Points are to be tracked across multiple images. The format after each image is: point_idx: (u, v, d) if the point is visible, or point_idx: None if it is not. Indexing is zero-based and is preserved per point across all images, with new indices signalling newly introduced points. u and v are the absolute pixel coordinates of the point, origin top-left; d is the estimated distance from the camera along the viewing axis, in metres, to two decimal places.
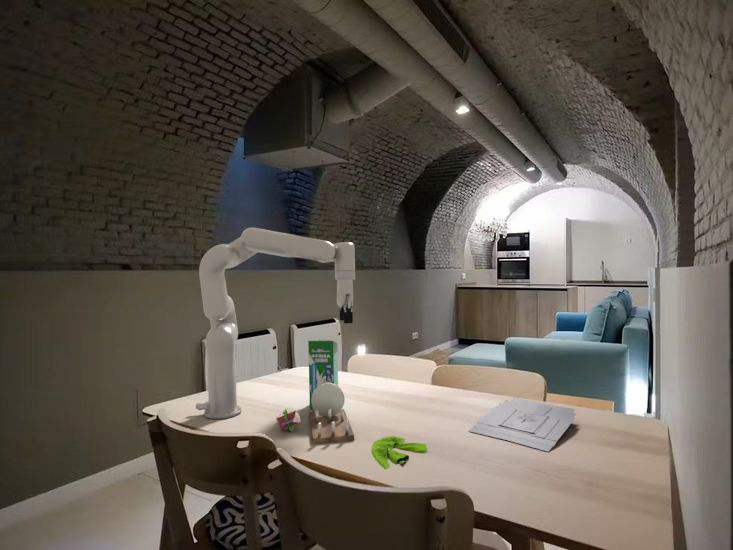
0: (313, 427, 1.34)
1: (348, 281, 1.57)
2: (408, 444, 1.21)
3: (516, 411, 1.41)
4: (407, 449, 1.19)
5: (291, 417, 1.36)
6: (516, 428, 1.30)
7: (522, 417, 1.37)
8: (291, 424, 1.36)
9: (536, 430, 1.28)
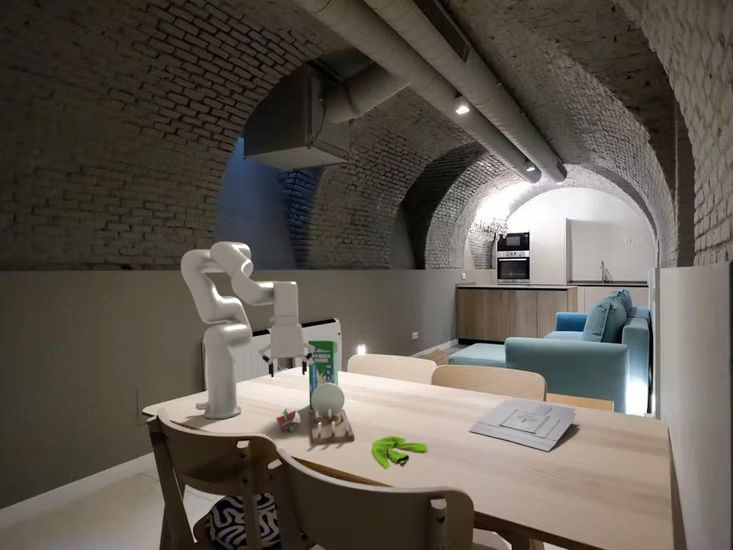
0: (313, 427, 1.34)
1: None
2: (408, 444, 1.21)
3: (516, 411, 1.42)
4: (407, 449, 1.19)
5: (291, 417, 1.36)
6: (516, 428, 1.30)
7: (522, 416, 1.37)
8: (291, 424, 1.36)
9: (536, 430, 1.28)
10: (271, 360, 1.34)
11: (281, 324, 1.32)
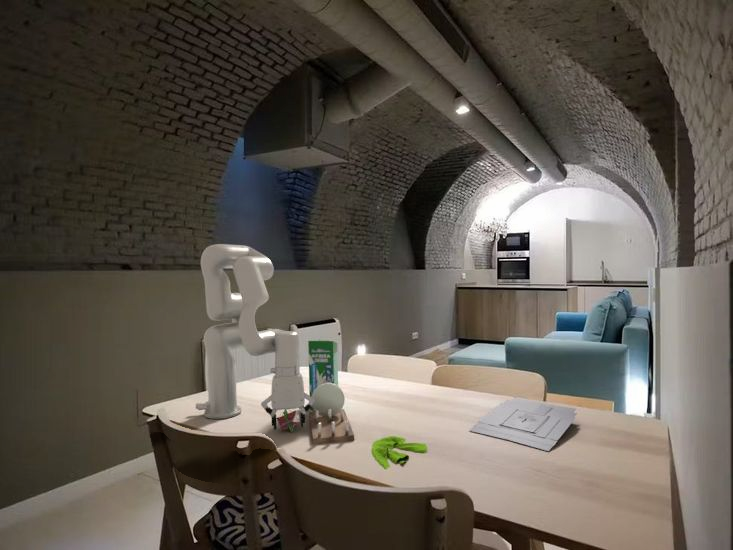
0: (313, 427, 1.34)
1: (301, 376, 1.37)
2: (408, 444, 1.21)
3: (517, 411, 1.42)
4: (407, 449, 1.19)
5: (291, 417, 1.36)
6: (516, 428, 1.30)
7: (523, 416, 1.37)
8: (291, 424, 1.36)
9: (536, 430, 1.28)
10: (274, 412, 1.34)
11: (282, 376, 1.32)
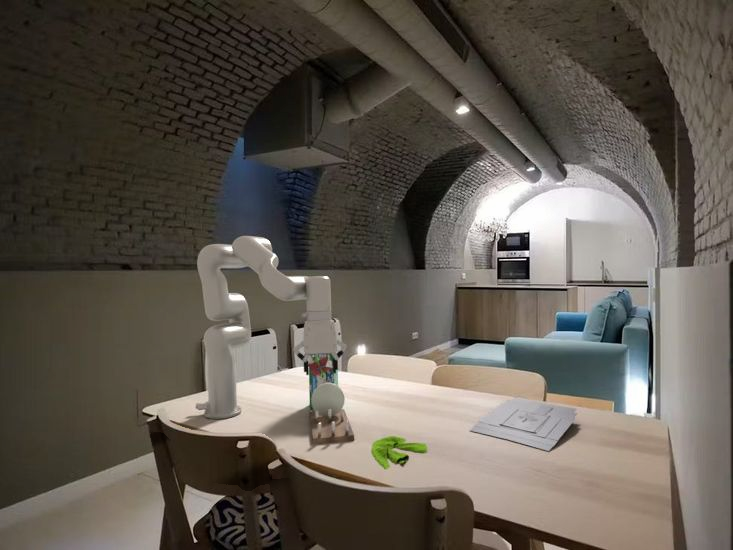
0: (313, 427, 1.34)
1: None
2: (408, 444, 1.21)
3: (517, 411, 1.42)
4: (407, 449, 1.20)
5: (323, 363, 1.33)
6: (516, 428, 1.30)
7: (523, 416, 1.37)
8: (323, 370, 1.33)
9: (537, 429, 1.28)
10: (306, 358, 1.31)
11: (314, 319, 1.30)
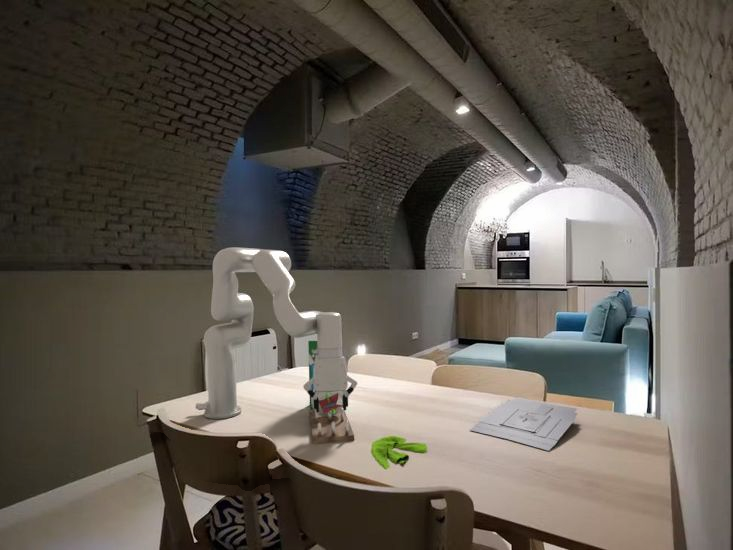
0: (313, 427, 1.34)
1: None
2: (408, 444, 1.21)
3: (518, 410, 1.42)
4: (407, 449, 1.20)
5: (334, 400, 1.33)
6: (517, 428, 1.30)
7: (523, 416, 1.37)
8: (334, 407, 1.33)
9: (537, 429, 1.28)
10: (317, 395, 1.31)
11: (325, 357, 1.29)
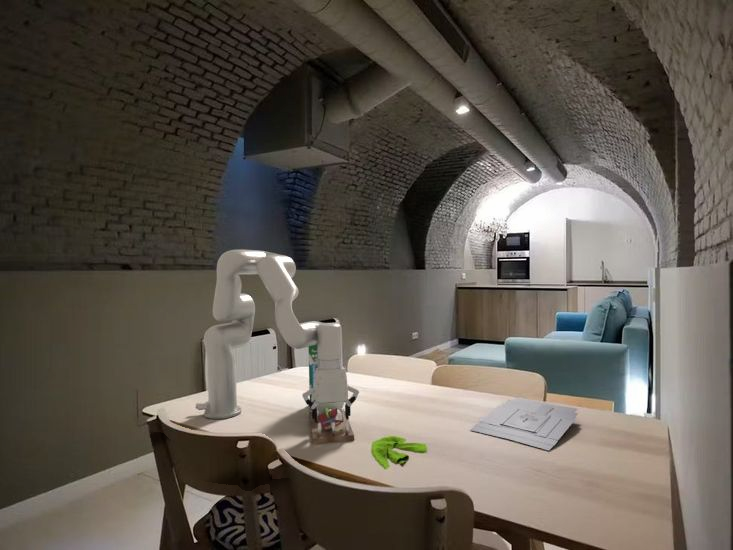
0: (313, 427, 1.34)
1: None
2: (408, 444, 1.21)
3: (518, 410, 1.42)
4: (407, 449, 1.20)
5: (333, 415, 1.33)
6: (517, 428, 1.31)
7: (524, 416, 1.38)
8: None
9: (537, 429, 1.28)
10: (315, 405, 1.31)
11: (326, 368, 1.29)
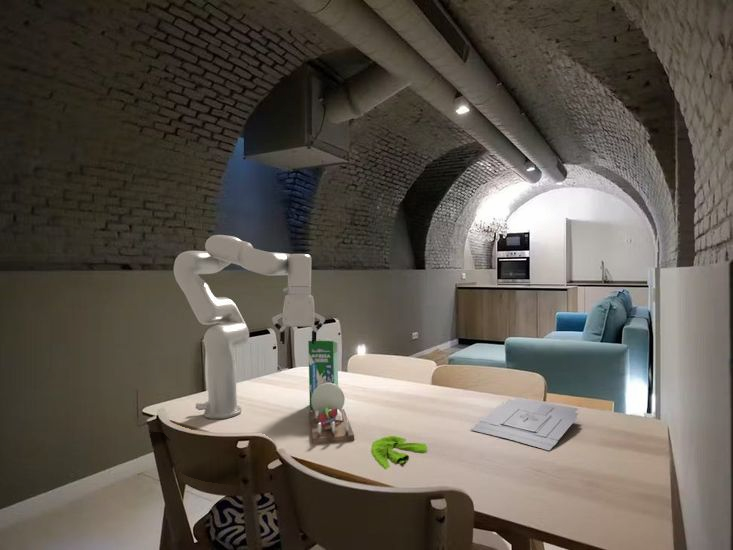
0: (313, 427, 1.34)
1: None
2: (408, 444, 1.21)
3: (518, 410, 1.42)
4: (407, 449, 1.20)
5: (333, 415, 1.33)
6: (517, 427, 1.31)
7: (524, 416, 1.38)
8: None
9: (538, 429, 1.28)
10: (283, 328, 1.40)
11: (294, 294, 1.39)
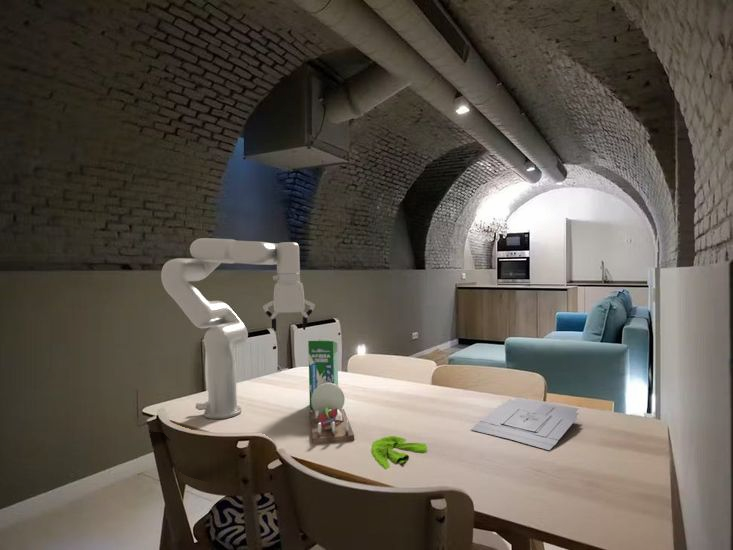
0: (313, 427, 1.34)
1: None
2: (408, 444, 1.21)
3: (519, 410, 1.42)
4: (407, 449, 1.20)
5: (333, 415, 1.33)
6: (518, 427, 1.31)
7: (524, 416, 1.38)
8: None
9: (538, 429, 1.28)
10: (274, 315, 1.44)
11: (284, 281, 1.42)
